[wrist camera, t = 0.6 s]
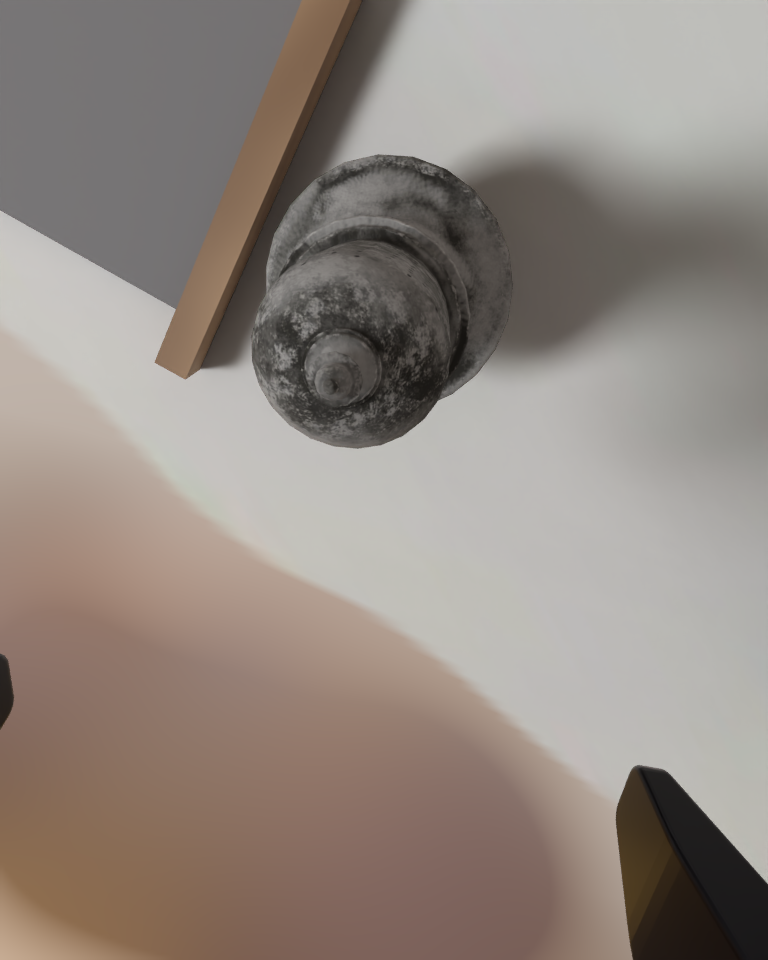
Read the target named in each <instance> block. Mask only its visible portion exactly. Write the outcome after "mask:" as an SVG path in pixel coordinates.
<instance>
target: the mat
mask: <svg viewBox="0 0 768 960" xmlns="http://www.w3.org/2000/svg"><path fill="white" fill-rule="evenodd" d="M301 1H302V0H0V210H1V211H2V212H4V213H6V214H8V215H10V216H11V217H13V218H15V219H17V220H18V221H20V222H22V223H24V224H26V225H27V226H29V227H31V228H33V229H34V230H36V231H38V232H40V233H42V234H43V235H45V236H47V237H49V238H50V239H52V240H54V241H56V242H58V243H59V244H61V245H63V246H65V247H67V248H68V249H70V250H72V251H74V252H75V253H77V254H79V255H81V256H83V257H84V258H86V259H88V260H90V261H91V262H93V263H95V264H97V265H99V266H100V267H102V268H104V269H106V270H107V271H109V272H111V273H113V274H115V275H116V276H118V277H120V278H122V279H123V280H125V281H127V282H129V283H131V284H132V285H134V286H136V287H138V288H139V289H141V290H143V291H145V292H147V293H148V294H150V295H152V296H154V297H155V298H157V299H159V300H161V301H163V302H164V303H166V304H168V305H170V306H171V307H173V308H175V309H177V306H178V304H179V301H180V299H181V296H182V294H183V291H184V289H185V286H186V284H187V281H188V279H189V277H190V274H191V272H192V269H193V267H194V264H195V262H196V259H197V257H198V254H199V252H200V249H201V247H202V245H203V242H204V240H205V237H206V235H207V232H208V230H209V227H210V225H211V222H212V220H213V217H214V215H215V213H216V210H217V208H218V205H219V203H220V200H221V198H222V195H223V193H224V190H225V188H226V185H227V183H228V181H229V178H230V176H231V173H232V171H233V168H234V166H235V163H236V161H237V158H238V156H239V153H240V151H241V149H242V146H243V144H244V141H245V139H246V136H247V134H248V131H249V129H250V126H251V124H252V122H253V119H254V117H255V114H256V112H257V109H258V107H259V104H260V102H261V99H262V97H263V94H264V92H265V90H266V87H267V85H268V82H269V80H270V77H271V75H272V72H273V70H274V67H275V65H276V62H277V60H278V58H279V55H280V53H281V50H282V48H283V45H284V43H285V40H286V38H287V35H288V33H289V30H290V28H291V26H292V23H293V21H294V18H295V16H296V13H297V11H298V8H299V6H300V3H301Z"/></svg>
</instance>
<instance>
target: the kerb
mask: <svg viewBox="0 0 768 960" xmlns="http://www.w3.org/2000/svg"><path fill="white" fill-rule="evenodd" d="M361 2H362V0H302V1H301V3H300V6H299V8H298V11H297V13H296V16H295V18H294V21H293V23H292V26H291V28H290V30H289V33H288V35H287V38H286V40H285V43H284V45H283V48H282V50H281V53H280V55H279V58H278V60H277V62H276V65H275V67H274V70H273V72H272V75H271V77H270V80H269V82H268V85H267V87H266V90H265V92H264V94H263V97H262V99H261V102H260V104H259V107H258V109H257V112H256V114H255V117H254V119H253V122H252V124H251V126H250V129H249V131H248V134H247V136H246V139H245V141H244V144H243V146H242V149H241V151H240V153H239V156H238V158H237V161H236V163H235V166H234V168H233V171H232V173H231V176H230V178H229V181H228V183H227V185H226V188H225V190H224V193H223V195H222V198H221V200H220V203H219V205H218V208H217V210H216V213H215V215H214V217H213V220H212V222H211V225H210V227H209V230H208V232H207V235H206V237H205V240H204V242H203V245H202V247H201V249H200V252H199V254H198V257H197V259H196V262H195V264H194V267H193V269H192V272H191V274H190V277H189V279H188V281H187V284H186V286H185V289H184V291H183V294H182V296H181V299H180V301H179V304H178V306H177V309H176V311H175V313H174V316H173V318H172V321H171V323H170V326H169V328H168V331H167V333H166V336H165V338H164V340H163V343H162V345H161V348H160V350H159V353H158V355H157V358H156V360H155V363H156V364H158V365H160V366H162V367H164V368H166V369H167V370H169V371H171V372H173V373H175V374H176V375H178V376H180V377H182V378H184V379H187V378H188V377H190V376H191V375H193V374H194V373H195V372H197V371H198V370H200V367H201V365H202V363H203V361H204V358H205V356H206V354H207V352H208V349H209V347H210V345H211V343H212V340H213V338H214V336H215V333H216V331H217V329H218V327H219V324H220V322H221V320H222V318H223V315H224V313H225V311H226V309H227V306H228V304H229V302H230V299H231V297H232V295H233V293H234V290H235V288H236V286H237V284H238V281H239V279H240V277H241V275H242V272H243V270H244V268H245V265H246V263H247V261H248V259H249V256H250V254H251V252H252V250H253V247H254V245H255V243H256V241H257V238H258V236H259V234H260V231H261V229H262V227H263V225H264V222H265V220H266V218H267V216H268V213H269V211H270V209H271V207H272V204H273V202H274V200H275V197H276V195H277V193H278V191H279V188H280V186H281V184H282V182H283V179H284V177H285V175H286V172H287V170H288V168H289V166H290V163H291V161H292V159H293V157H294V154H295V152H296V150H297V148H298V145H299V143H300V141H301V138H302V136H303V134H304V132H305V129H306V127H307V125H308V123H309V120H310V118H311V116H312V114H313V111H314V109H315V107H316V104H317V102H318V100H319V98H320V95H321V93H322V91H323V89H324V86H325V84H326V82H327V80H328V77H329V75H330V73H331V70H332V68H333V66H334V64H335V61H336V59H337V57H338V55H339V52H340V50H341V48H342V46H343V43H344V41H345V39H346V36H347V34H348V32H349V30H350V27H351V25H352V23H353V21H354V18H355V16H356V14H357V11H358V9H359V7H360V5H361Z"/></svg>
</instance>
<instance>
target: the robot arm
mask: <svg viewBox="0 0 768 960" xmlns="http://www.w3.org/2000/svg"><path fill="white" fill-rule="evenodd" d="M13 701H14V694H13V688H12V681H11V675H10V668H9V663H8V660H7V658H6V657H5V656H4V655H2V654H0V730H1V728H2V726H3V724H4V723H5V721H6V720H7V718H8V716H9V714H10V712H11V710H12V707H13ZM616 828H617V837H618V845H619V854H620V863H621V872H622V881H623V889H624V899H625V907H626V916H627V925H628V932H629V939H630V946H631V951H632V957H633V960H768V884H767V883H766V882H765V880H764V879H763V878H762V877H761V876H760V875H759V874H758V873H757V871H756V870H755V869H754V868H753V867H752V866H751V865H750V864H749V862H748V861H747V860H746V859H745V858H744V857H743V856H742V855H741V853H740V852H739V851H738V850H737V849H736V848H735V847H734V846H733V844H732V843H731V842H730V841H729V840H728V839H727V838H726V837H725V835H724V834H723V833H722V832H721V831H720V830H719V829H718V828H717V827H716V825H715V824H714V823H713V822H712V821H711V820H710V819H709V818H708V816H707V815H706V814H705V813H704V812H703V811H702V810H701V809H700V807H699V806H698V805H697V804H696V803H695V802H694V801H693V800H692V798H691V797H690V796H689V795H688V794H687V793H686V792H685V791H684V789H683V788H682V787H681V786H680V785H679V784H678V783H677V782H676V780H675V779H674V778H673V777H672V776H671V775H670V774H669V773H668V772H666V771H665V770H663V769H659V768H653V767H647V766H642V765H637V766H634V767H633V768H632V770H631V772H630V774H629V776H628V779H627V782H626V784H625V787H624V790H623V792H622V795H621V797H620V800H619V803H618V806H617V811H616Z"/></svg>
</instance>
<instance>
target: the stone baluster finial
mask: <svg viewBox="0 0 768 960" xmlns="http://www.w3.org/2000/svg"><path fill="white" fill-rule="evenodd" d="M512 287H513V284H512V275H511V267H510V258H509V251H508V248H507V246H506V243H505V241H504V238H503V236H502V233H501V231H500V228H499V226H498V223H497V221H496V218H495V217H494V216H493V214H492V213H491V212H490V210H489V209H488V208H487V206H486V205H485V204H484V202H483V201H482V200H481V198H480V197H479V196H478V195H477V193H476V192H475V191H474V190H473V189H472V188H470V187H469V186H468V185H467V184H465V183H464V182H463V181H461V180H460V179H459V178H457V177H456V176H455V175H453V174H452V173H451V172H449V171H448V170H447V169H444V168H442V167H439V166H436V165H434V164H431V163H428V162H426V161H423V160H420V159H418V158H415V157H408V156H393V155H374V156H370V157H366V158H361V159H357V160H353V161H349V162H344V163H343V164H341V165H339V166H337V167H336V168H334V169H332V170H330V171H329V172H327V173H325V174H323V175H322V176H320V177H318V178H316V179H315V180H314V181H313V182H312V183H311V184H310V185H309V186H308V187H307V188H306V189H305V190H304V191H303V192H302V193H301V194H300V195H299V196H298V197H297V198H296V199H295V200H294V201H293V202H292V203H291V204H290V206H289V208H288V210H287V212H286V213H285V215H284V217H283V219H282V221H281V223H280V224H279V226H278V228H277V230H276V232H275V234H274V237H273V241H272V245H271V249H270V253H269V257H268V261H267V266H266V295H265V297H264V299H263V300H262V302H261V304H260V306H259V308H258V312H257V316H256V320H255V324H254V328H253V333H252V362H253V366H254V369H255V372H256V376H257V379H258V383H259V386H260V387H261V389H262V391H263V392H264V394H265V396H266V398H267V399H268V401H269V403H270V404H271V406H272V407H273V408H274V409H275V410H276V411H277V413H278V414H279V415H280V416H281V417H282V418H283V419H284V420H285V421H286V422H287V423H288V424H289V425H290V426H292V427H294V428H295V429H297V430H298V431H300V432H301V433H303V434H305V435H306V436H308V437H309V438H311V439H314V440H317V441H320V442H323V443H326V444H329V445H331V446H337V447H347V448H357V449H358V448H364V447H371V446H378V445H382V444H385V443H387V442H389V441H392V440H394V439H396V438H399V437H401V436H403V435H404V434H406V433H407V432H408V431H410V430H411V429H412V428H413V427H415V426H416V425H417V424H419V423H420V422H421V421H422V420H423V419H424V418H425V417H426V416H427V415H428V413H429V412H430V411H431V409H432V408H433V407H434V405H435V404H436V403H437V401H438V400H440V399H442V398H445V397H447V396H449V395H451V394H453V393H454V392H455V391H457V390H458V389H459V388H460V387H462V386H463V385H464V384H465V383H467V382H468V381H469V380H470V379H472V378H473V377H474V376H475V375H476V374H477V373H478V372H479V371H480V369H481V368H482V367H483V365H484V364H485V363H486V361H487V360H488V359H489V357H490V356H491V355H492V353H493V352H494V351H495V349H496V347H497V344H498V342H499V339H500V337H501V335H502V332H503V330H504V327H505V325H506V323H507V320H508V315H509V308H510V301H511V294H512Z"/></svg>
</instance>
